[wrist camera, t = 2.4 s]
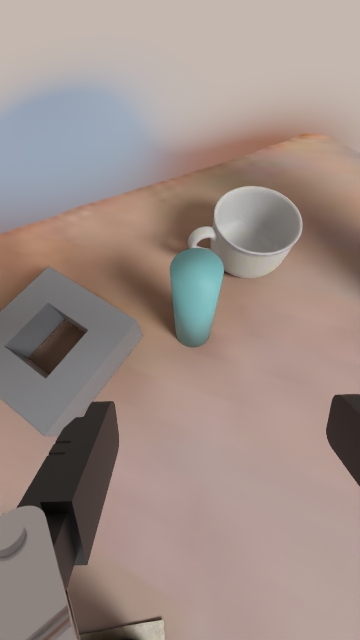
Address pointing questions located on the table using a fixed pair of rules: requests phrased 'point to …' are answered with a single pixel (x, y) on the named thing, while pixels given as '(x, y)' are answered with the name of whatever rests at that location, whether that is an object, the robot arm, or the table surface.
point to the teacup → (251, 230)
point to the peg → (195, 293)
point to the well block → (77, 366)
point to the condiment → (130, 632)
